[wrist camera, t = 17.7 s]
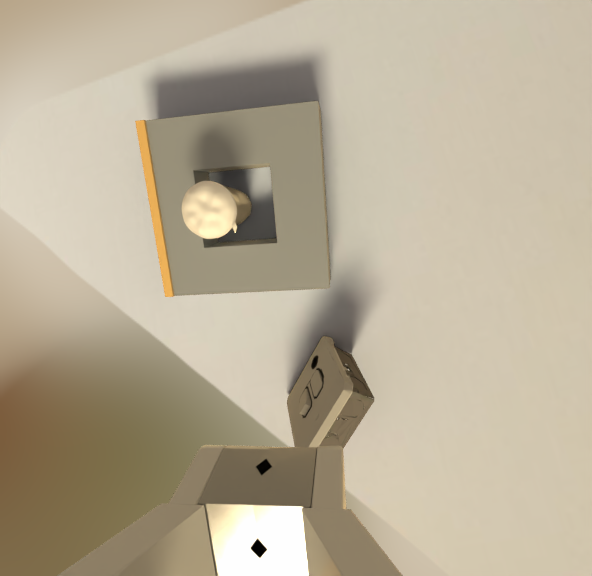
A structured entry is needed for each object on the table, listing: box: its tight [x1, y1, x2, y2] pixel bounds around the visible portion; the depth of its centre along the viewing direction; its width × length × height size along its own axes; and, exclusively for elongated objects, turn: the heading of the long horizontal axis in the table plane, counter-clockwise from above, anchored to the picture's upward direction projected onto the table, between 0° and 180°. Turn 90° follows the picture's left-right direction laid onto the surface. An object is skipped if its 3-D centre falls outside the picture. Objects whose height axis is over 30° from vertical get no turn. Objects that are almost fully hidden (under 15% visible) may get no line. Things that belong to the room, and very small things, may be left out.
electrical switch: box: [287, 336, 374, 448], centre depth 37 cm, size 9×5×9 cm, turn 154°
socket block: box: [135, 101, 331, 297], centre depth 36 cm, size 16×16×4 cm
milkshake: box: [182, 181, 252, 239], centre depth 33 cm, size 4×5×10 cm
